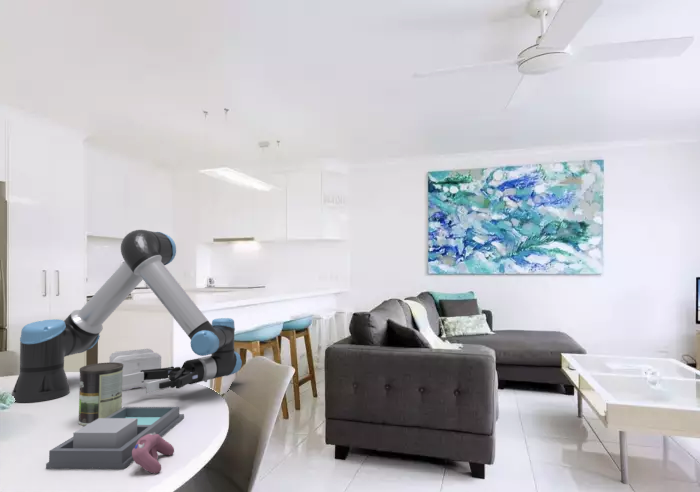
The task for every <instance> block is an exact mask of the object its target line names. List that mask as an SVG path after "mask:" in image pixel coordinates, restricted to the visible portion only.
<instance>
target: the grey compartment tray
mask: <svg viewBox="0 0 700 492" xmlns="http://www.w3.org/2000/svg"><path fill="white" fill-rule="evenodd" d="M184 418H185V414H184V413H182V414H180V406H123V407H122V408H121V409H119V410H118V411H116V412H114V413H113V414H111V415H109V416H108V417H106V418H98V419H97V420H95V421H93V422H91V423H90V424H88V425H86V426H83V427H81V428H79V429H78V430H76V431H75V432H73V433H72V434H73V435H72V437H70V438H68V439H67V440H65V441H63V442H62V443H60V444H58V445H56V446H55V447H53V448H51V449H50V450H48V451H49V455H48V462H46V463H45V469H49V470H50V469H54V470H55V469H56V470H59V469H61V470H64V469H65V470H68V469H72V470H75V469H78V470H80V469H81V470H83V469H84V470H85V469H86V470H87V469H88V470H89V469H91V470H92V469H93V470H122V469H123V470H125V469H127V468H128V467H129V466H130V465H131V464H132V463H133V462H135V461H134V460H133V457H132V450H133V448H135V446H136V443H137V442H138V440H139V439H140V438H141V437H143V436H145V435H147V434H153V433H154V432H155V433H156V434H158V435H160V436H161V437H162V438H163V437H164V436H165V435H166V434H167V433H168V432H170V431H171V430H172V429H173V428H174V427H176V425H178V424H179V423H180V422H181V421H182V420H183V419H184Z"/></svg>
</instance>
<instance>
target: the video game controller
mask: <svg viewBox="0 0 700 492" xmlns="http://www.w3.org/2000/svg"><path fill="white" fill-rule="evenodd" d="M158 454H161V455H162V456H163V455H164V456H172V455H173V454H175V448H174V446H173V445H172V444H171V443H170V442H168V441H167V440H165V439H164V438H163V436H162V437H161V436H160V435H158V434H156V433H155V432H154V433H153V434H147V435H145V436H143V437H141V438H140V439H139V440H138V442H137V443H136V446H135V448H133V450H132V457H133V460H134V461H133V462H134V463H135V464H136V465H138V466H140V467H141V468H142V469H143V470H144V471H147V472H148V473H151V474H159V473H160V472H161V471H162V465H161V462H159V460H158V458H159V455H158Z"/></svg>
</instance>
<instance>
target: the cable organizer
mask: <svg viewBox="0 0 700 492" xmlns="http://www.w3.org/2000/svg"><path fill="white" fill-rule="evenodd" d="M109 362H115V363H122V364H123V374H122V376H124V375H129V374H134V373H139V372H141V370H149V369H159V368H162V355H161V354H160V353H158V352H154V350H153V349H152V348H151V349H150V348H140V349H129V350H120V351H114V352H112V353H111V354H110V355H109ZM157 380H162V379H153V380H144V382H143V383H142V382H138V383H133V384H128V385H124V386H122V392H124V391H130V390H132V389H136V388H141V389H145V388H146V383H148V382H153V381H157Z"/></svg>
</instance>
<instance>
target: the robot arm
mask: <svg viewBox="0 0 700 492" xmlns="http://www.w3.org/2000/svg"><path fill="white" fill-rule="evenodd" d="M120 244H121V245H120V253H121V256H122V259H123V263H122V264H121V265H120V266H119V267H118V268H117V269H116V270H115V271H114V273H112V275H111V276H110V277H109V278H108V279H107V280H106V281H105V283H103V285H102V286H100V288H98V290H97V291H96V292H95V293H94V295H93V296H92V297H90V299H89V300H88V301H87V302H86V303H85V304H84V305H83V307H81V309H75V310H73V311H72V312H70V314H69V315H68V316H67V317H66V318H65V319H64V320H63V319H44V320H37V321H34V322H30V323H27V324H26V325H24V326H23V327H22V328H21V333H20V337H19V341H20V343H19V344H20V346H19V348H20V349H19V350H20V351H19V373H18V377H17V380H16V383H15V384H14V387H13V390H12V392H11V397H12V396H14V398H15V400H16V402H15V403H35V402H43V401H44V402H45V401H50V400H54V399H58V398H61V397H64V396H67V395H68V394H69V393H70V390H71V389H70V388H71V386H70V383H69V381H68V377H67V374H66V371H65V357H69V356H72V355H76V354H81V353H84V352H86V351H88V350H90V349H92V348H93V347H94V346H95V345H96V344H97V343H98V342H99V340H100V336H101V335H100V333H102V331H103V324H104V323H105V322H106V320H107V319H108V318H109V317H110V316H111V315H112V314H113V313H114V312H115V311H116V309H118V307H119V306H120V305H121V304H122V303H123V302H124V301H125V300H126V299H127V298H128V296H129V295H130V294H131V293H132V292H133V291H135V289H136V288H137V287H138V286H139V285H140V284H141V282H142V281H144V283H145V284H146V285H147V287H149V289H150V290H151V291H152V293H153V294H154V295H155V296H156V297H157V299H158V300H159V301H160V303H161V304H162V305H163V307H164V308H165V309H166V310H167V311H168V313H169V314H170V315H171V316H172V318H173V319H174V321H176V323H177V324H178V325H179V326H180V328H181V329H182V330H183V332H184V333H185V334H186V335H187V336H188V338H189V339H190V347H191V350H192V351H193V353H194V354H195V355H197V356H201V357H198V358H192V359H188V360H185V361H184V363H182V365H181V366H176V367H174V366H173V365H172V366H169V367H161V368H159V369H149V370H141V372H139V373H134V374H129V375H124V376H122V386H124V385H128V384H133V383H138V382H142V383H143V382H144V380H153V379H161V380H157V381H153V382H148V383H146V390H145V393H146V394H150V393H154V392H158V391H163V390H166V389H167V390H168V389H169V388H171V389H173V388H176V389H181V388H183V387H185V386H186V385H187V386H188V385H195V384H197V383H201V382H204V383H207V382H208V381H210V380H214V379H218V378H222V377H228V376H231V375H234V374H237V373H238V372H239V371H240V370H241V368H242V364H243V361H242V359H241V355H240V354H239V353H238V352H237V351H235V330H236V328H235V320H234V319H233V318H229V317H221V318H220V317H219V318H214V319H212V321H211V322H210V321H209V320H208V318H207V317H206V316H205V315H204V313H203V312H202V311H201V310H200V308H199V307H198V306H197V304H196V303H195V302H194V300H193V299H191V297H190V296H189V294H188V293H187V292H186V290H184V288H183V287H182V285H181V284H180V283H179V282H178V281H177V280H176V278H175V277H174V276H173V275H172V273H171V272H170V270H168V268H167V267H166V266H167V265H169V264H170V263H171V262H173V260H175V256H176V255H177V246H176V243H175V241H174V240H173V238H172V237H171V236H170V235H168V234H166V233H163V232H161V231H150V230H146V229H136V230H132V231H130V232H128V233H127V234H126V235H125V236H124V237H123V238H122V241H121V243H120Z"/></svg>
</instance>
